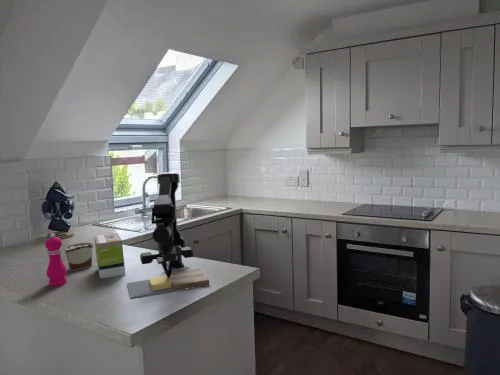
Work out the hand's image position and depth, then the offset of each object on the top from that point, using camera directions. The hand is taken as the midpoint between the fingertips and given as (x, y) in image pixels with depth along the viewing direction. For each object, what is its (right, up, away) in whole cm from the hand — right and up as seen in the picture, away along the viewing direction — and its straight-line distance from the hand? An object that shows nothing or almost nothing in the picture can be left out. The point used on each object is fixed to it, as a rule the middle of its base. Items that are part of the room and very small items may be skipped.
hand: (168, 277), depth 161 cm
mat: (-7, -3, -2) cm, 8 cm away
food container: (-45, -2, +28) cm, 53 cm away
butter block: (-3, -2, -1) cm, 3 cm away
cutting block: (+7, -2, +3) cm, 8 cm away
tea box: (-28, -2, +20) cm, 34 cm away
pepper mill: (-45, -4, +8) cm, 46 cm away
